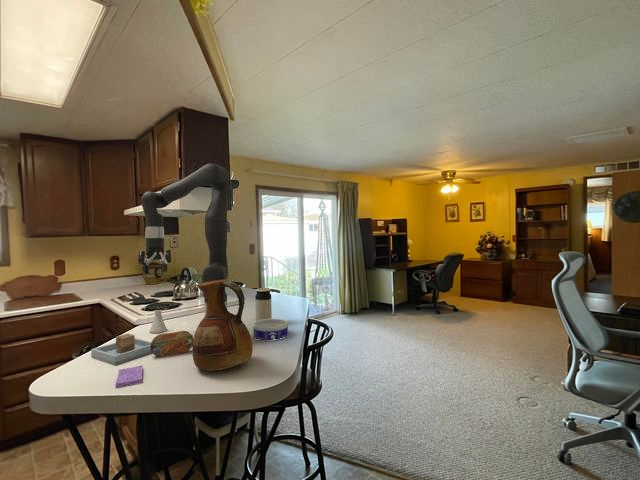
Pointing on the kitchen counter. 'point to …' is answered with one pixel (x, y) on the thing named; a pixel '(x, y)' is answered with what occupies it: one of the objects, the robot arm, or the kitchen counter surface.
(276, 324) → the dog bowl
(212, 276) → the robot arm
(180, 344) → the tin
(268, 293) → the travel mug
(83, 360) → the kitchen counter surface
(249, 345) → the ceramic pitcher
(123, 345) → the walnut block
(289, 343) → the kitchen counter surface
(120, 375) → the sponges
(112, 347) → the tray
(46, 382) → the kitchen counter surface
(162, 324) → the flask
